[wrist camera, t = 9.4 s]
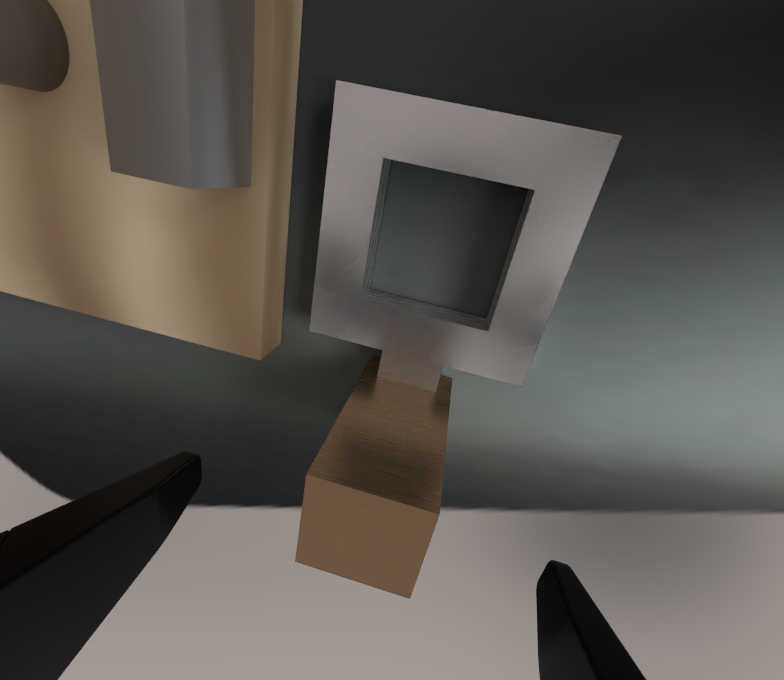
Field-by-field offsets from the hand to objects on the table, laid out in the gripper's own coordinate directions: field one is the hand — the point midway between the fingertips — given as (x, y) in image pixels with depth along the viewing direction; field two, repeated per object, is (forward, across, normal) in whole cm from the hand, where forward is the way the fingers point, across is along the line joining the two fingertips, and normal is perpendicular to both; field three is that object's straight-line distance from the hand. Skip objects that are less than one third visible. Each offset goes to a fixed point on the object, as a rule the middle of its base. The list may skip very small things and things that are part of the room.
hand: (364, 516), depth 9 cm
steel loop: (+5, 0, -4) cm, 7 cm away
